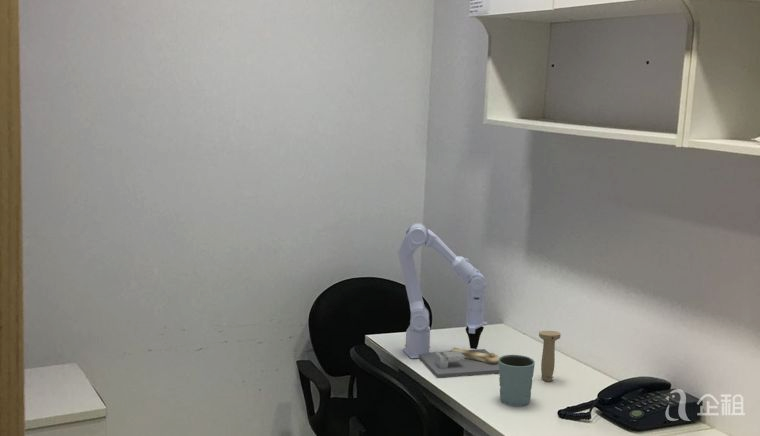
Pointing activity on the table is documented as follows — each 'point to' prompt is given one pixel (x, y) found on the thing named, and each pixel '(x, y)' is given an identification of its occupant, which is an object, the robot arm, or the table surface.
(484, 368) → the board
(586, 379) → the table surface
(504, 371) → the teal cup
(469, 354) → the link
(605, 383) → the table surface
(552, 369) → the handle
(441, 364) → the block
